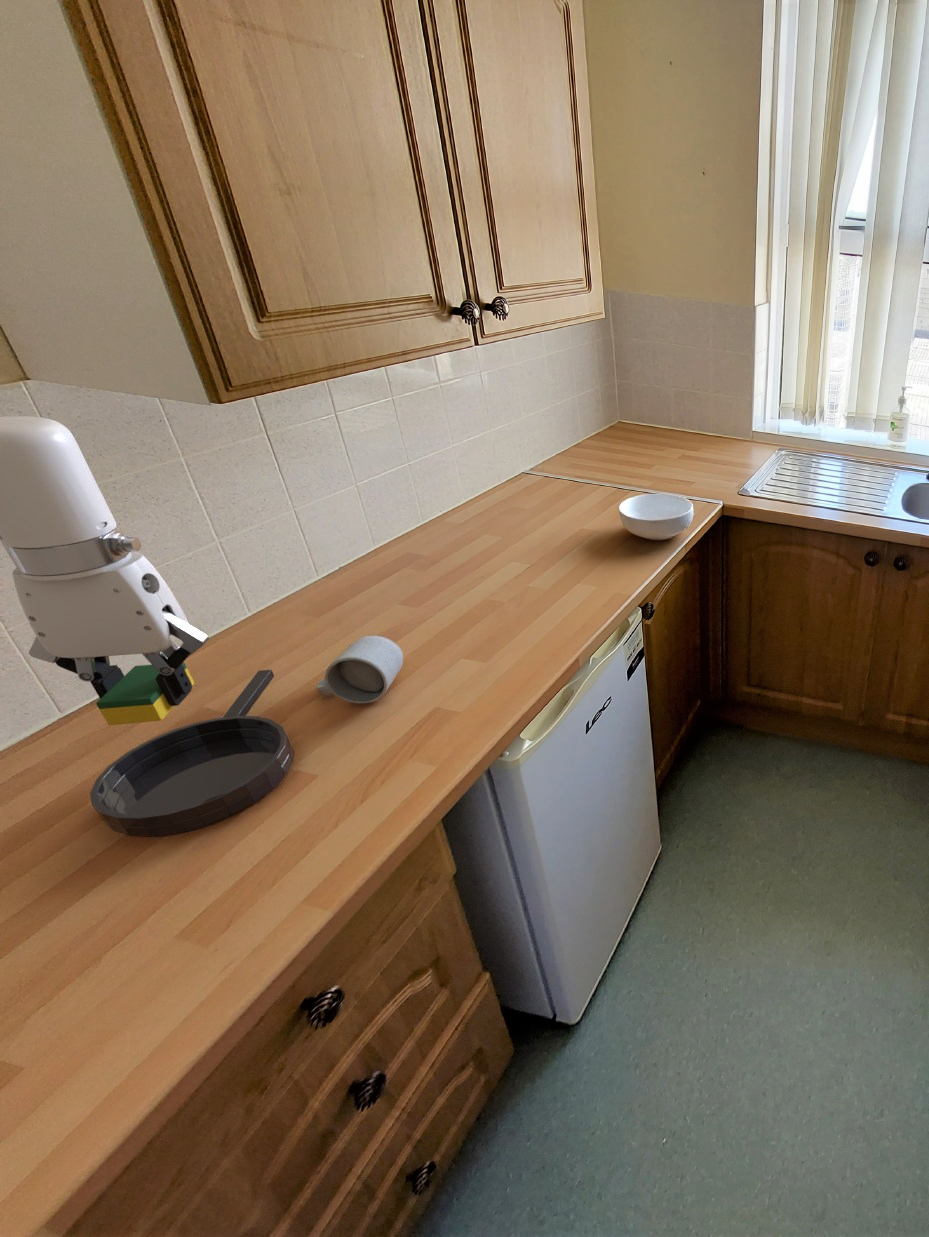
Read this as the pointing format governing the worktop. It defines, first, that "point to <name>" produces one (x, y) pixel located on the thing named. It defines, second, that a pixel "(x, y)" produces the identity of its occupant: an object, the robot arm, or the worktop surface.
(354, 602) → the worktop surface
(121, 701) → the sponge
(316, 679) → the worktop surface
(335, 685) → the ceramic mug
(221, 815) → the pan
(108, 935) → the worktop surface
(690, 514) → the cereal bowl
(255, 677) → the pan handle
